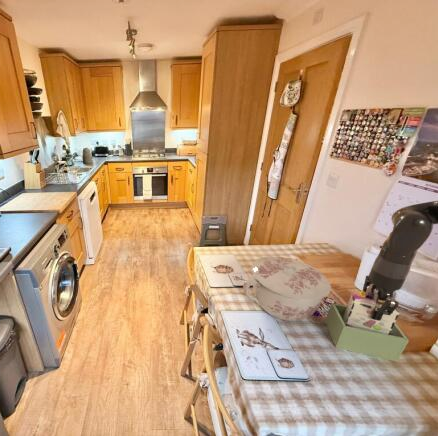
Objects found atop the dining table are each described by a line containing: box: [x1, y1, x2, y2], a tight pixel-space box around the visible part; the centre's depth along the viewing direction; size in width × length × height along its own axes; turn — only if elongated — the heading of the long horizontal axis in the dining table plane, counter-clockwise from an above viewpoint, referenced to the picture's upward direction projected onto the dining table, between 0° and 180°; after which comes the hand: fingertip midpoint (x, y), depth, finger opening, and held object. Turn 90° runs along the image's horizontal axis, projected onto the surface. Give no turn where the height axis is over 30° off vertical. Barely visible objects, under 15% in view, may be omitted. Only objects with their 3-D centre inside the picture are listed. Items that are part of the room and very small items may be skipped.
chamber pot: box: [242, 256, 332, 322], centre depth 94 cm, size 28×28×21 cm
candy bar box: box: [343, 294, 400, 335], centre depth 79 cm, size 11×5×16 cm, turn 59°
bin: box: [324, 302, 410, 363], centre depth 81 cm, size 17×12×10 cm
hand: (370, 312), depth 77 cm, fingers closed on candy bar box, 5 cm apart
